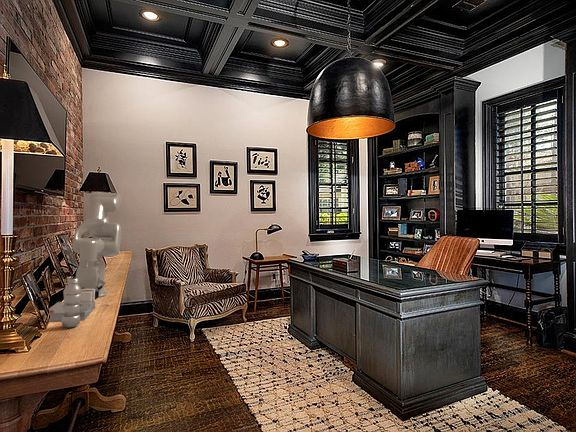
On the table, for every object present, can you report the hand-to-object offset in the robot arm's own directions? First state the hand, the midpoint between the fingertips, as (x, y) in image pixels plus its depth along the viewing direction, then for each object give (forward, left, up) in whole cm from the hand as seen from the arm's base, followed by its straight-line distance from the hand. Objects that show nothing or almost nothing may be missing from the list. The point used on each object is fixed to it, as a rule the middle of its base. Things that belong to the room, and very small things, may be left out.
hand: (86, 299), depth 179 cm
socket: (+15, -3, -4) cm, 16 cm away
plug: (-1, 0, -4) cm, 4 cm away
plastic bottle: (+34, +2, -4) cm, 34 cm away
